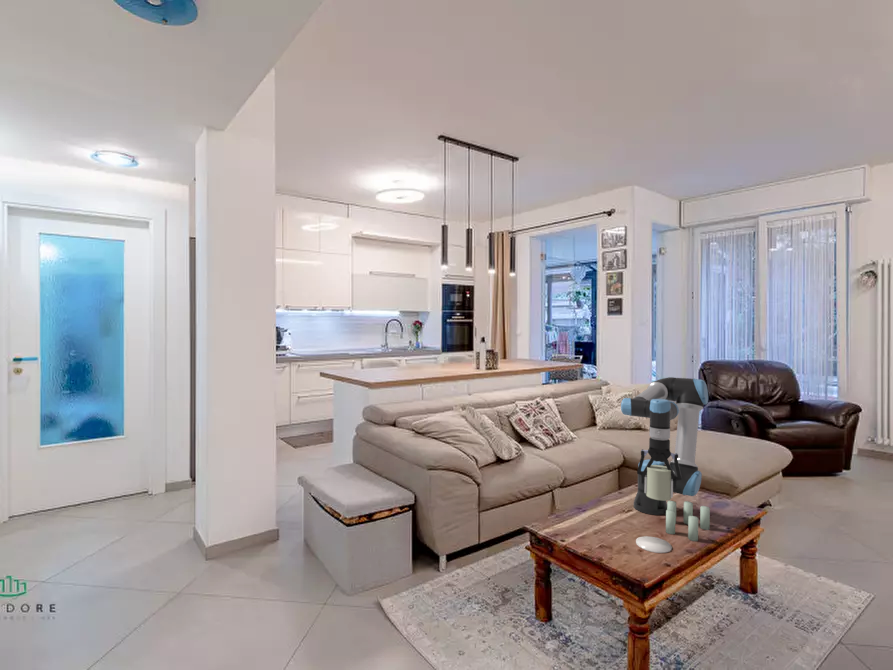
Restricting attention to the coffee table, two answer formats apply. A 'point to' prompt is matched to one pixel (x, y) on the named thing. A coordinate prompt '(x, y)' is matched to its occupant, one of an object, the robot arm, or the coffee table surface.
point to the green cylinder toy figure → (658, 483)
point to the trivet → (653, 544)
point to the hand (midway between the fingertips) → (658, 494)
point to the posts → (687, 519)
